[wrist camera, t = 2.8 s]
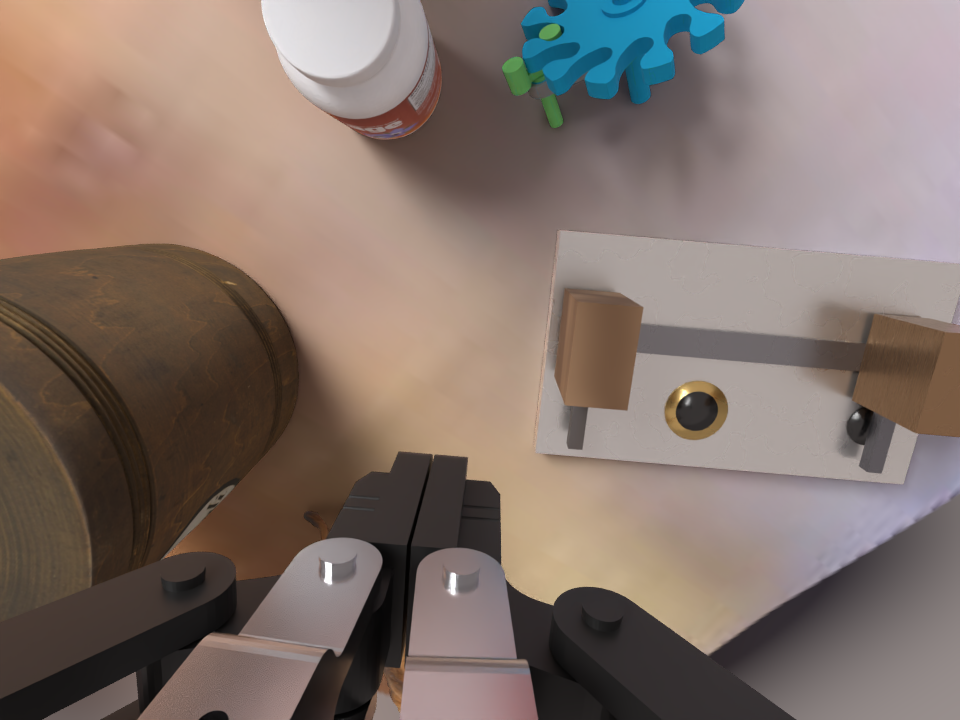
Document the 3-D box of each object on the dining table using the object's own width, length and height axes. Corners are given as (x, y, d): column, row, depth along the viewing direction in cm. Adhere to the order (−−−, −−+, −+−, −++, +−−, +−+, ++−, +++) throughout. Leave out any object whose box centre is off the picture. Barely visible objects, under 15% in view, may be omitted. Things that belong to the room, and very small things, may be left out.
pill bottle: (314, 117, 31) (217, 63, 20) (348, -4, 29) (261, -132, 18) (422, 158, 31) (383, 129, 20) (460, 42, 29) (440, -57, 19)
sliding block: (546, 438, 33) (555, 477, 28) (564, 288, 30) (577, 301, 26) (598, 443, 33) (616, 483, 28) (619, 292, 30) (643, 307, 26)
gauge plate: (533, 443, 35) (542, 495, 28) (557, 229, 32) (574, 233, 25) (886, 473, 35) (977, 533, 28) (946, 262, 32) (1065, 274, 25)
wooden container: (82, 475, 36) (-499, 842, 15) (38, 242, 33) (-815, 292, 11) (309, 478, 36) (42, 859, 15) (290, 243, 32) (-102, 297, 11)
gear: (695, -120, 26) (791, -10, 21) (702, 1, 31) (781, 114, 26) (478, -4, 29) (516, 119, 24) (516, 91, 34) (554, 209, 29)
